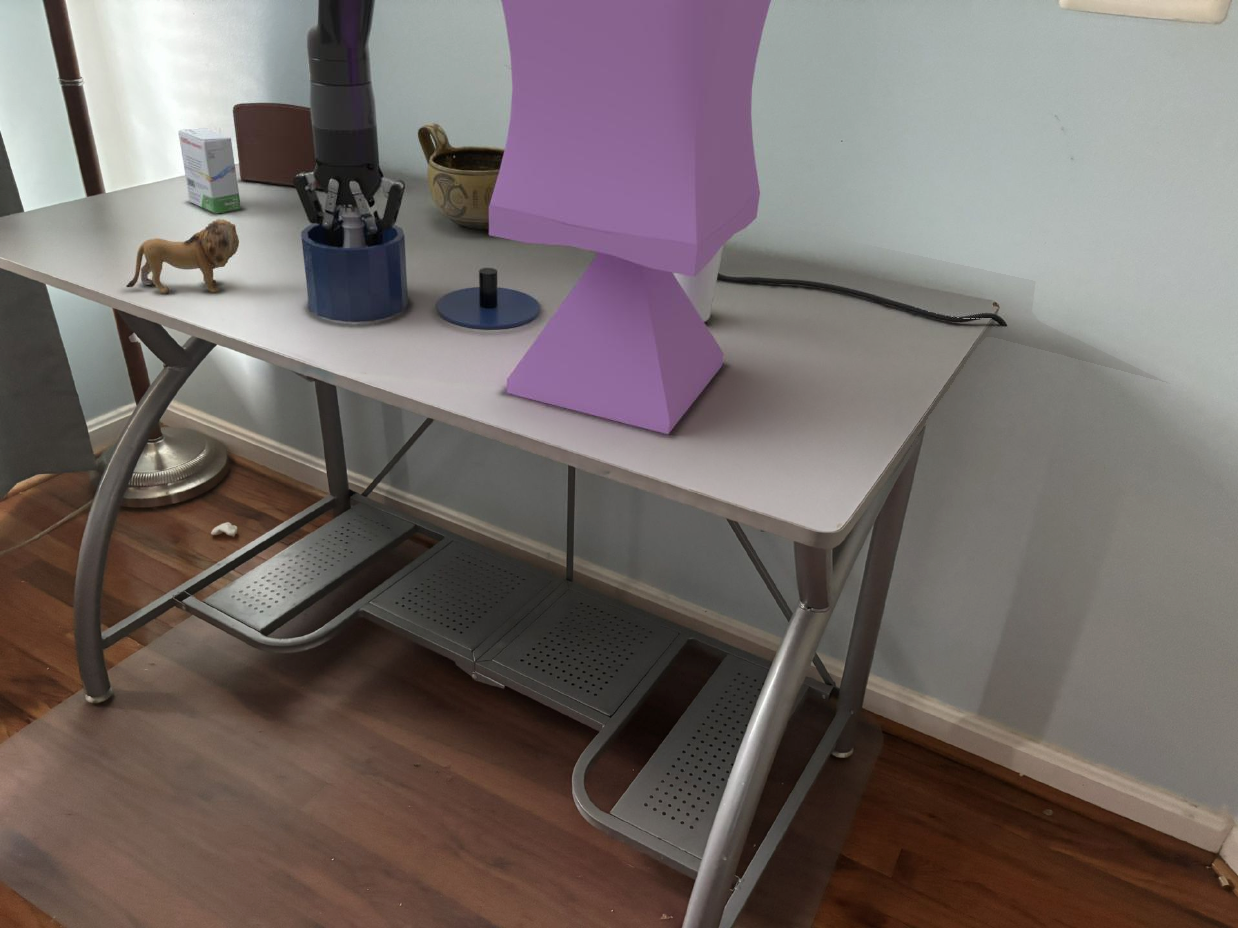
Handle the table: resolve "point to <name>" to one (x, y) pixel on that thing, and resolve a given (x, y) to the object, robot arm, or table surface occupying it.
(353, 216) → the rook chess piece
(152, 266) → the lion figurine
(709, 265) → the drinking glass
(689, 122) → the purple table lamp
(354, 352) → the table surface
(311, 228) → the pot
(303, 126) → the letter holder
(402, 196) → the robot arm
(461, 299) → the lid
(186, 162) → the ink box
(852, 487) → the table surface
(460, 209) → the ceramic bowl
